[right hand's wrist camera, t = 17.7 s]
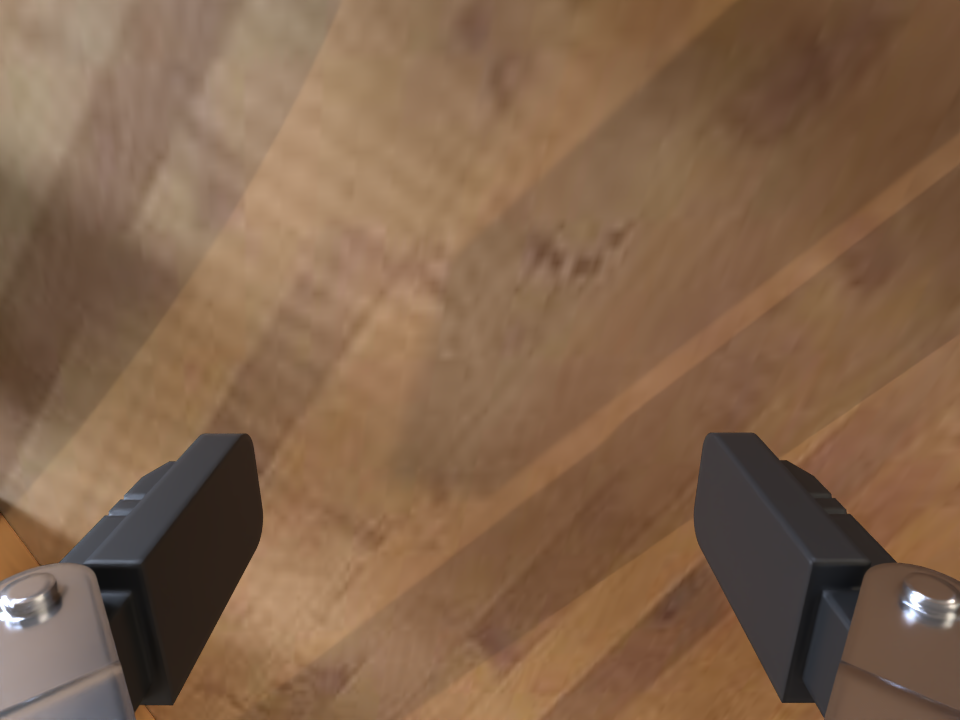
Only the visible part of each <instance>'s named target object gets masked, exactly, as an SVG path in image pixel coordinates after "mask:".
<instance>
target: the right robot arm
mask: <svg viewBox="0 0 960 720" xmlns="http://www.w3.org/2000/svg"><path fill="white" fill-rule="evenodd" d="M262 526H263V509H262V502H261V495H260V488H259V481H258V474H257V467H256V459H255V452H254V446H253V442H252V440H251V438H250V436H249V435H248V434H202V435H200V436H199V437H198V438H197V439H196V440H195V441H194V443H193V444H192V445H191V446H190V447H189V448H188V449H187V450H186V451H185V452H184V453H183V455H182V456H181V457H180V458H179V459H178V460H177V461H169V462H168V463H166V464H164V465H162V466H161V467H159V468H157V469H156V470H154V471H152V472H150V473H149V474H147V475H145V476H143V477H142V478H141V479H140V480H139V481H138V482H137V483H136V484H135V485H134V486H133V487H132V488H131V489H130V490H129V491H128V492H127V493H126V494H125V495H124V500H120V501H119V502H118V503H117V504H116V505H115V506H114V507H113V508H112V509H111V510H110V511H109V515H108V516H104V517H103V518H102V519H101V520H100V521H99V522H98V523H97V524H96V525H95V526H94V527H93V528H92V529H91V530H90V531H89V532H88V533H87V535H86V536H85V537H84V538H83V539H82V540H81V541H80V542H79V543H78V544H77V545H76V546H75V547H74V548H73V549H72V550H71V551H70V552H69V553H68V554H67V555H66V556H65V557H64V558H63V559H62V560H61V561H60V562H59V563H55V564H48V565H43V566H38V567H35V568H32V569H28V570H25V571H23V572H20V573H17V574H15V575H13V576H10V577H8V578H6V579H4V580H2V581H0V720H136V718H135V714H134V713H135V712H136V710H137V708H138V707H139V705H173V704H174V702H175V700H176V699H177V697H178V695H179V693H180V691H181V689H182V687H183V685H184V684H185V682H186V680H187V678H188V676H189V674H190V672H191V670H192V669H193V667H194V665H195V663H196V661H197V659H198V657H199V655H200V654H201V652H202V650H203V648H204V646H205V644H206V642H207V640H208V639H209V637H210V635H211V633H212V631H213V629H214V627H215V625H216V624H217V622H218V620H219V618H220V616H221V614H222V612H223V610H224V609H225V607H226V605H227V603H228V601H229V599H230V597H231V595H232V594H233V592H234V590H235V588H236V586H237V584H238V582H239V580H240V578H241V577H242V575H243V573H244V571H245V569H246V567H247V565H248V563H249V562H250V560H251V558H252V556H253V554H254V552H255V550H256V548H257V546H258V544H259V541H260V537H261V533H262ZM694 527H695V533H696V537H697V541H698V544H699V546H700V548H701V550H702V552H703V554H704V556H705V557H706V559H707V561H708V563H709V565H710V567H711V569H712V571H713V573H714V575H715V576H716V578H717V580H718V582H719V584H720V586H721V588H722V590H723V592H724V594H725V595H726V597H727V599H728V601H729V603H730V605H731V607H732V609H733V611H734V613H735V614H736V616H737V618H738V620H739V622H740V624H741V626H742V628H743V630H744V632H745V633H746V635H747V637H748V639H749V641H750V643H751V645H752V647H753V649H754V651H755V652H756V654H757V656H758V658H759V660H760V662H761V664H762V666H763V668H764V670H765V671H766V673H767V675H768V677H769V679H770V681H771V683H772V685H773V687H774V689H775V690H776V692H777V694H778V696H779V698H780V700H781V702H782V703H816V705H817V707H818V708H819V710H820V712H821V713H822V715H823V717H824V720H960V581H958V580H956V579H954V578H952V577H950V576H947V575H945V574H943V573H940V572H937V571H935V570H932V569H928V568H925V567H922V566H917V565H912V564H905V563H897V562H896V561H895V560H894V559H893V558H892V557H891V556H890V555H889V554H888V553H887V552H886V551H885V550H884V549H883V548H882V547H881V545H880V544H879V543H878V542H877V541H876V540H875V539H874V538H873V537H872V536H871V535H870V534H869V533H868V532H867V531H866V530H865V529H864V528H863V527H862V526H861V525H860V524H859V523H858V522H857V521H856V519H855V518H854V517H853V516H852V515H851V514H847V513H846V509H845V508H844V507H843V506H842V505H841V504H840V503H839V502H838V501H837V500H836V499H835V498H832V497H831V493H830V492H829V491H828V490H827V489H826V488H825V487H824V486H823V485H822V484H821V483H820V482H819V481H818V480H817V479H816V478H815V477H814V476H813V475H811V474H809V473H808V472H806V471H804V470H802V469H801V468H799V467H797V466H795V465H794V464H792V463H790V462H789V461H787V460H779V459H778V458H777V457H776V456H775V455H774V454H773V452H772V451H771V450H770V449H769V448H768V447H767V446H766V445H765V444H764V442H763V441H762V440H761V439H760V438H759V437H758V436H757V435H756V434H754V433H709V434H708V435H707V436H706V438H705V440H704V443H703V448H702V456H701V463H700V470H699V477H698V484H697V491H696V499H695V506H694Z"/></svg>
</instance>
